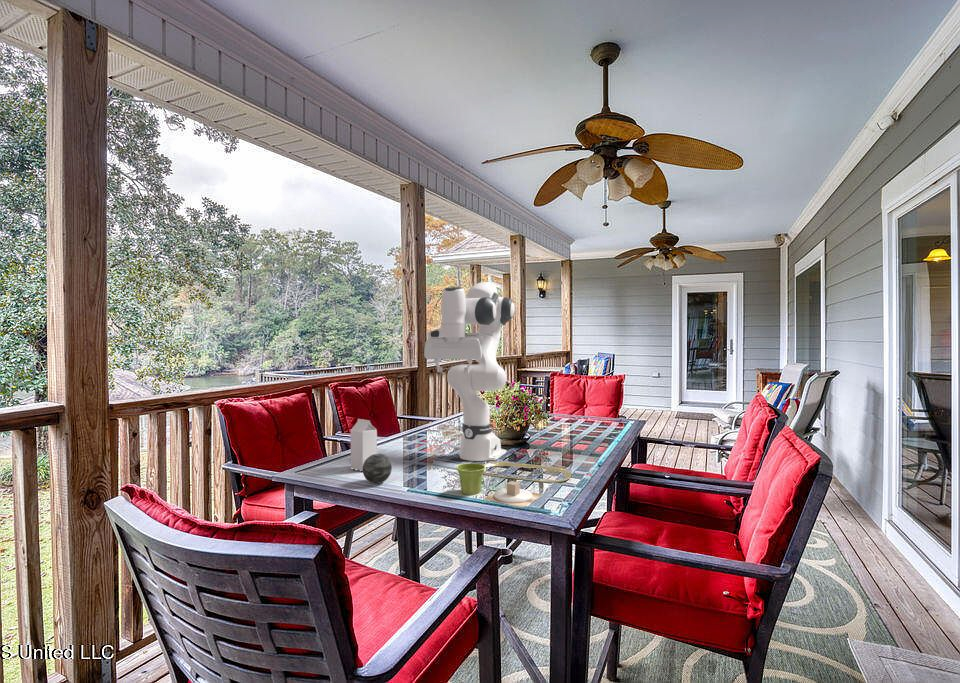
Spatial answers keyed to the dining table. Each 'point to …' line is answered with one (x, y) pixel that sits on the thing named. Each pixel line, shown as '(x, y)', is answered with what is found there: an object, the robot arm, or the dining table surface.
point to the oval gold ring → (528, 467)
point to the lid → (513, 494)
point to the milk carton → (362, 443)
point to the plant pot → (471, 477)
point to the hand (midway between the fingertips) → (453, 372)
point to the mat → (534, 496)
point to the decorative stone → (377, 468)
